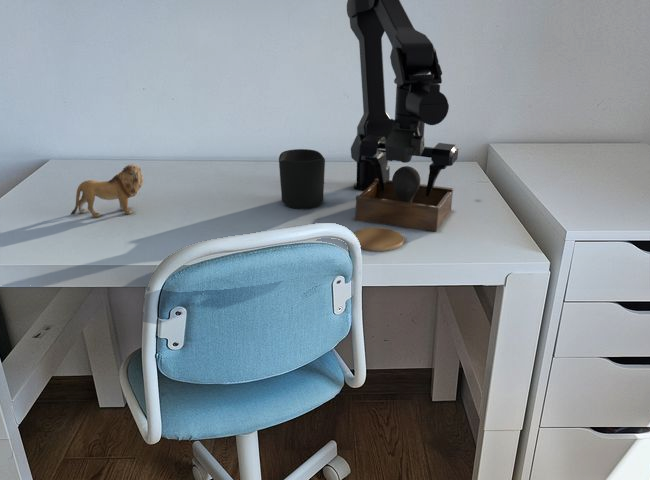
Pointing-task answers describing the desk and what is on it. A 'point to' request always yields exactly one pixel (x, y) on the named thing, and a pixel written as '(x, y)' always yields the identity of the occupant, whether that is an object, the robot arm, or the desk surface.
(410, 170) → the light bulb
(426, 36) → the robot arm
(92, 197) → the lion figurine
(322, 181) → the pen holder
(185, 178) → the desk surface
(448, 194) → the wooden cubby shelf
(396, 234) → the coaster
